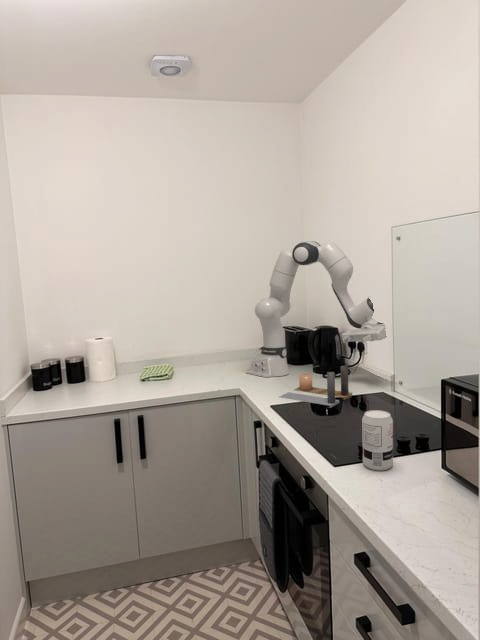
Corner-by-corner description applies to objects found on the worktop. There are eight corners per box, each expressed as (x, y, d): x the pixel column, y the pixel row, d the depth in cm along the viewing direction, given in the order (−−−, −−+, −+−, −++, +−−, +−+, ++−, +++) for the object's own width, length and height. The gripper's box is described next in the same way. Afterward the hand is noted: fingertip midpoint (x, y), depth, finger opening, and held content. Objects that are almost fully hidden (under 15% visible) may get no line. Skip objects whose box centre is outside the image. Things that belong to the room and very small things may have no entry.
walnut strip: (293, 392, 214) (292, 363, 212) (302, 387, 220) (301, 359, 219) (343, 400, 199) (343, 368, 198) (352, 395, 206) (351, 364, 204)
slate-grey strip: (278, 399, 205) (277, 368, 203) (288, 394, 211) (287, 365, 209) (330, 408, 190) (329, 375, 188) (339, 402, 196) (338, 371, 195)
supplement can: (358, 460, 142) (358, 410, 140) (386, 458, 143) (386, 408, 141) (368, 472, 134) (367, 419, 132) (397, 470, 135) (397, 417, 133)
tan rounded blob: (297, 389, 214) (296, 376, 213) (303, 386, 218) (303, 373, 218) (308, 391, 211) (308, 377, 210) (314, 388, 215) (314, 374, 214)
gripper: (350, 325, 225) (332, 335, 217) (389, 322, 210) (371, 333, 201) (353, 338, 226) (335, 348, 218) (392, 336, 211) (374, 347, 202)
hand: (353, 341), depth 209 cm, fingers open, 8 cm apart
